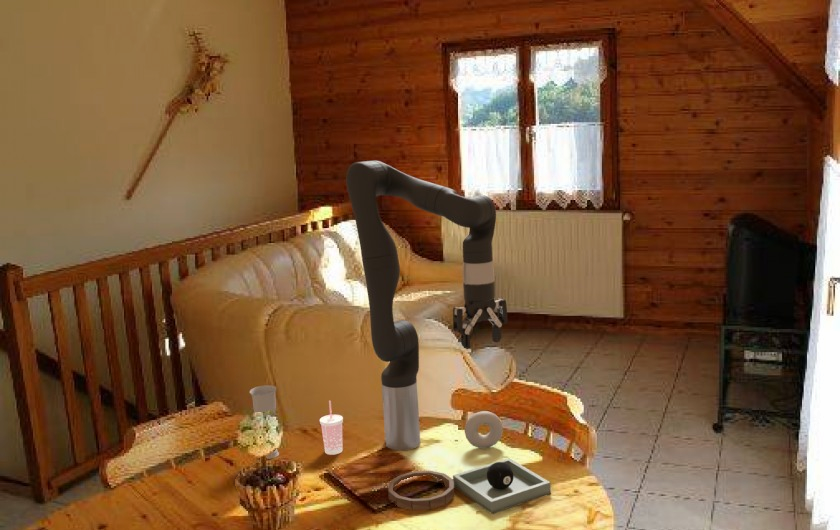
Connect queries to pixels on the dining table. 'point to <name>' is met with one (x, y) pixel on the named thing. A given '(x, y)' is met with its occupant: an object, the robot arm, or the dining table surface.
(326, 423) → the beverage cup
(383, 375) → the robot arm
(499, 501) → the tray
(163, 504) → the dining table surface
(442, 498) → the walnut ring
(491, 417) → the donut
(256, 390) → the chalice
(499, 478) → the billiard ball
